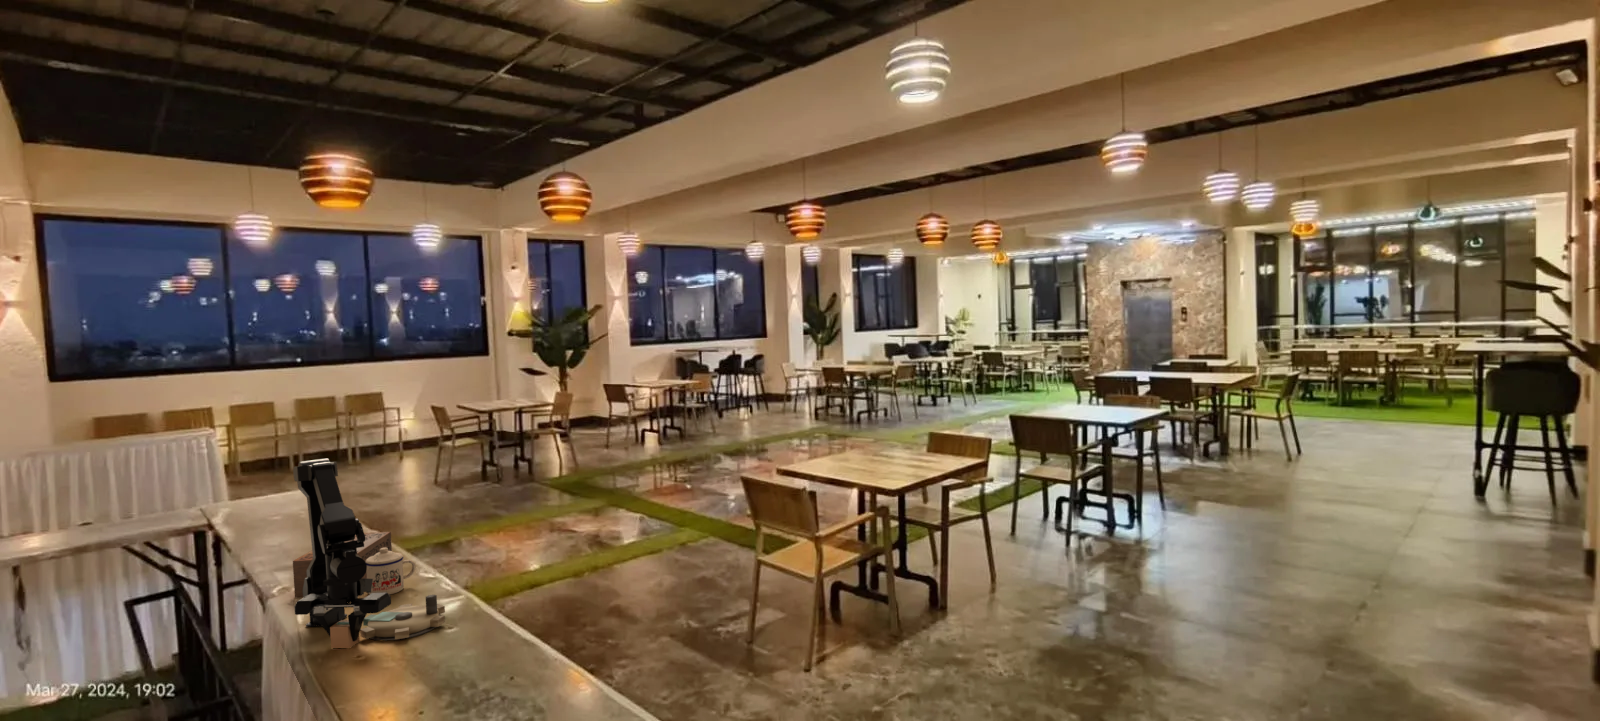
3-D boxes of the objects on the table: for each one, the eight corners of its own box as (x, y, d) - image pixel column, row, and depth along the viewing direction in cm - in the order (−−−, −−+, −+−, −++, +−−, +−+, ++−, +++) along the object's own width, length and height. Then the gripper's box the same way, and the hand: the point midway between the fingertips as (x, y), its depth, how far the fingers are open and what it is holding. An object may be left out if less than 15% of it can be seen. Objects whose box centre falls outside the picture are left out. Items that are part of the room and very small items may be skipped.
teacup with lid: (369, 599, 202) (367, 555, 201) (364, 590, 209) (361, 548, 209) (419, 589, 209) (417, 546, 209) (412, 580, 216) (410, 539, 216)
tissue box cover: (352, 594, 207) (350, 558, 206) (294, 598, 205) (292, 561, 205) (392, 564, 232) (390, 531, 232) (341, 567, 231) (339, 534, 230)
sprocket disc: (365, 617, 188) (364, 594, 188) (445, 604, 195) (443, 582, 195) (357, 645, 171) (356, 621, 171) (444, 631, 178) (443, 607, 178)
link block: (331, 649, 171) (329, 626, 171) (342, 641, 175) (340, 619, 175) (349, 649, 171) (347, 626, 171) (359, 641, 175) (358, 619, 175)
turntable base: (350, 641, 175) (350, 639, 175) (389, 614, 191) (389, 612, 191) (421, 640, 175) (420, 638, 175) (453, 613, 191) (453, 611, 191)
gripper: (402, 560, 180) (405, 625, 181) (322, 561, 180) (326, 627, 181) (375, 576, 169) (379, 646, 170) (290, 577, 169) (294, 647, 170)
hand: (345, 640), depth 173 cm, fingers closed on link block, 4 cm apart
